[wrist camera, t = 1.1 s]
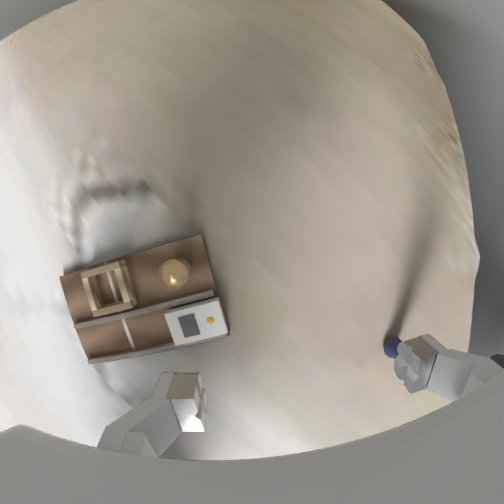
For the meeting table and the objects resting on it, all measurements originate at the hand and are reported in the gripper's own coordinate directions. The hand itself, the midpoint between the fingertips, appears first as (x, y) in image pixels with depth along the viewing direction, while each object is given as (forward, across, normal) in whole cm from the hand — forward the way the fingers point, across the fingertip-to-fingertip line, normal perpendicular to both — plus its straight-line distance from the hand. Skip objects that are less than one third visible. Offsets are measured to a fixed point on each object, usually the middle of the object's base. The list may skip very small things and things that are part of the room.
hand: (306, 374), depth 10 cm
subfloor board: (+30, -20, -9) cm, 37 cm away
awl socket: (+29, -23, -5) cm, 37 cm away
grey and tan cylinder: (+30, -11, -3) cm, 32 cm away
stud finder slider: (+29, -10, -11) cm, 32 cm away
